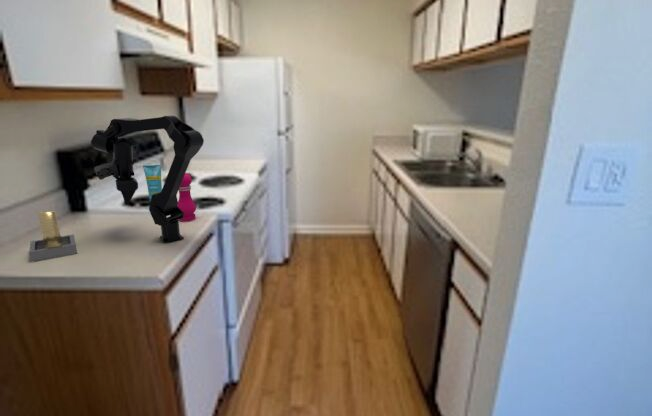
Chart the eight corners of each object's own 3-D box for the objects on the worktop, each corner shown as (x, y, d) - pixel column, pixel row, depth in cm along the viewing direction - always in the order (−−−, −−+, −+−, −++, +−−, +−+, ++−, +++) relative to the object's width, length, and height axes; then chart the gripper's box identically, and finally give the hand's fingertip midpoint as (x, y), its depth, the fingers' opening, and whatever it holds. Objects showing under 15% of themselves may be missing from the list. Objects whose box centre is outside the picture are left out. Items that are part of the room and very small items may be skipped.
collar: (77, 253, 118) (75, 244, 117) (31, 262, 112) (29, 252, 111) (75, 242, 127) (73, 234, 126) (32, 250, 121) (30, 241, 120)
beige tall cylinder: (63, 252, 119) (55, 212, 115) (46, 255, 116) (37, 214, 113) (63, 248, 122) (55, 209, 119) (46, 251, 120) (37, 211, 116)
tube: (147, 210, 166) (141, 166, 161) (149, 207, 171) (143, 164, 165) (165, 209, 168) (160, 165, 163) (167, 206, 172) (162, 163, 167)
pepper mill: (184, 223, 148) (179, 171, 142) (174, 219, 152) (168, 169, 147) (200, 218, 153) (196, 169, 148) (190, 215, 157) (185, 167, 152)
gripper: (93, 148, 131) (96, 190, 137) (97, 165, 117) (100, 212, 123) (129, 148, 137) (131, 189, 143) (137, 165, 123) (139, 209, 129)
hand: (125, 199), depth 134 cm, fingers open, 9 cm apart
